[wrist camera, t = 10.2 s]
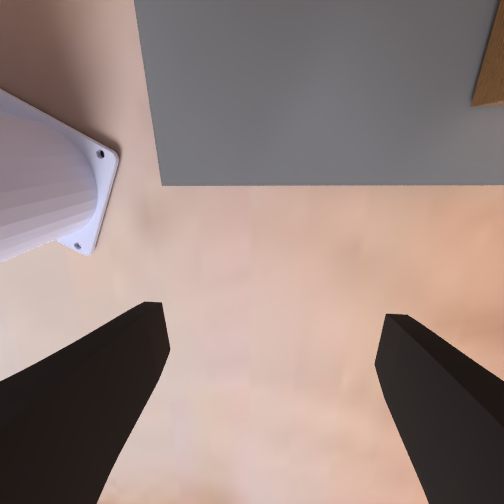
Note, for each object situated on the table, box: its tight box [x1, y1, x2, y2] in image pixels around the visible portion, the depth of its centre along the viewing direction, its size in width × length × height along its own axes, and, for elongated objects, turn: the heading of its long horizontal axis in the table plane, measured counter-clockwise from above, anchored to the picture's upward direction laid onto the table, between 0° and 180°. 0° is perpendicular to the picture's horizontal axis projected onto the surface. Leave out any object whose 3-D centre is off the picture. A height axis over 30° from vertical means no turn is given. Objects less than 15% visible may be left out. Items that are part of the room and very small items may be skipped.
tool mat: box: [134, 0, 504, 186], centre depth 10 cm, size 24×12×6 cm, turn 91°
